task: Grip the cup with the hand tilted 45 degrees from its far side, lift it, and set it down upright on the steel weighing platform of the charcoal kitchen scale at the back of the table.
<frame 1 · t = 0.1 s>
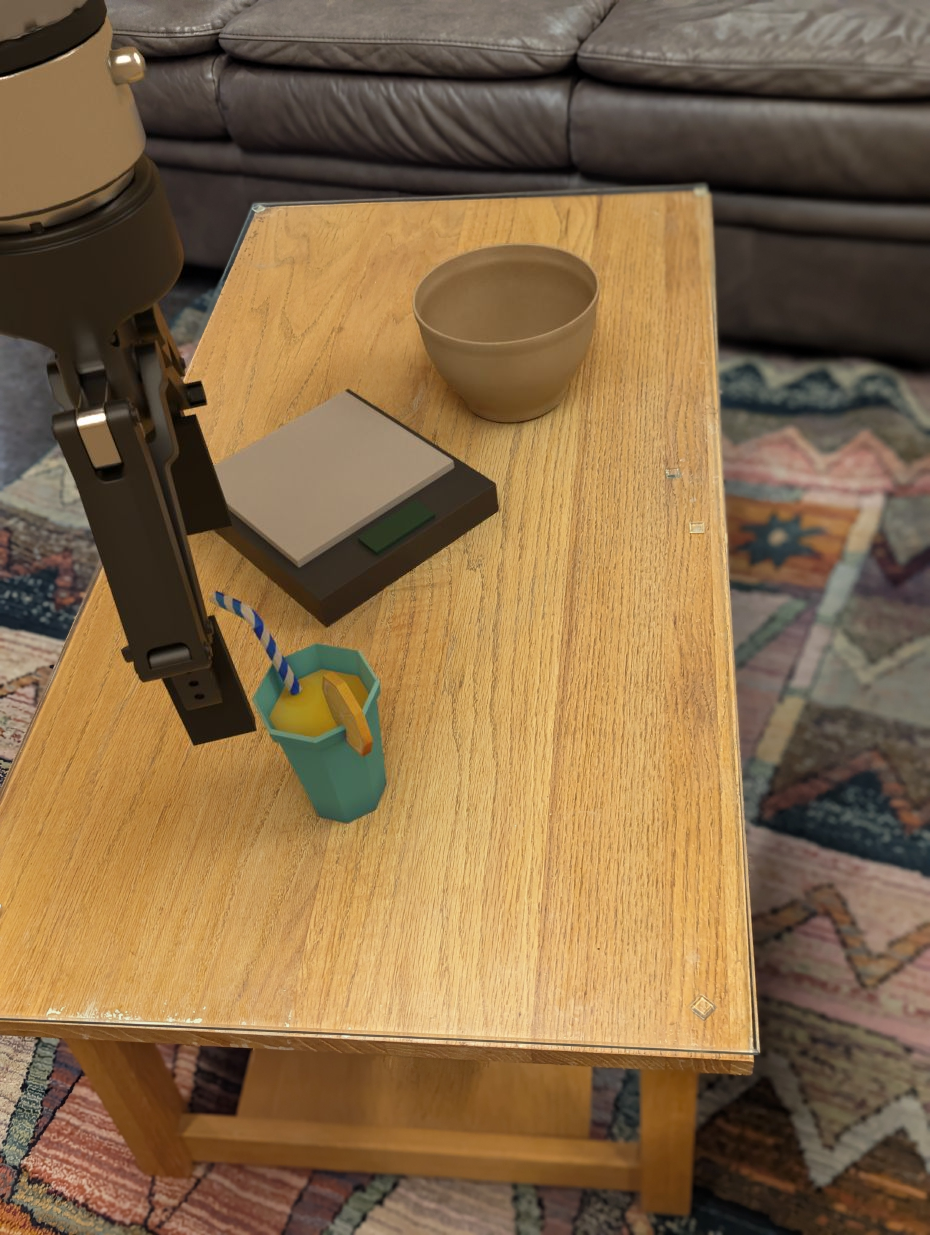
hand: (214, 620, 51), 24 cm above the table, tool pointing down, fingers open, 13 cm apart
scale: (341, 510, 92), on the table
cup: (338, 784, 73), on the table
planter bowl: (513, 395, 101), on the table
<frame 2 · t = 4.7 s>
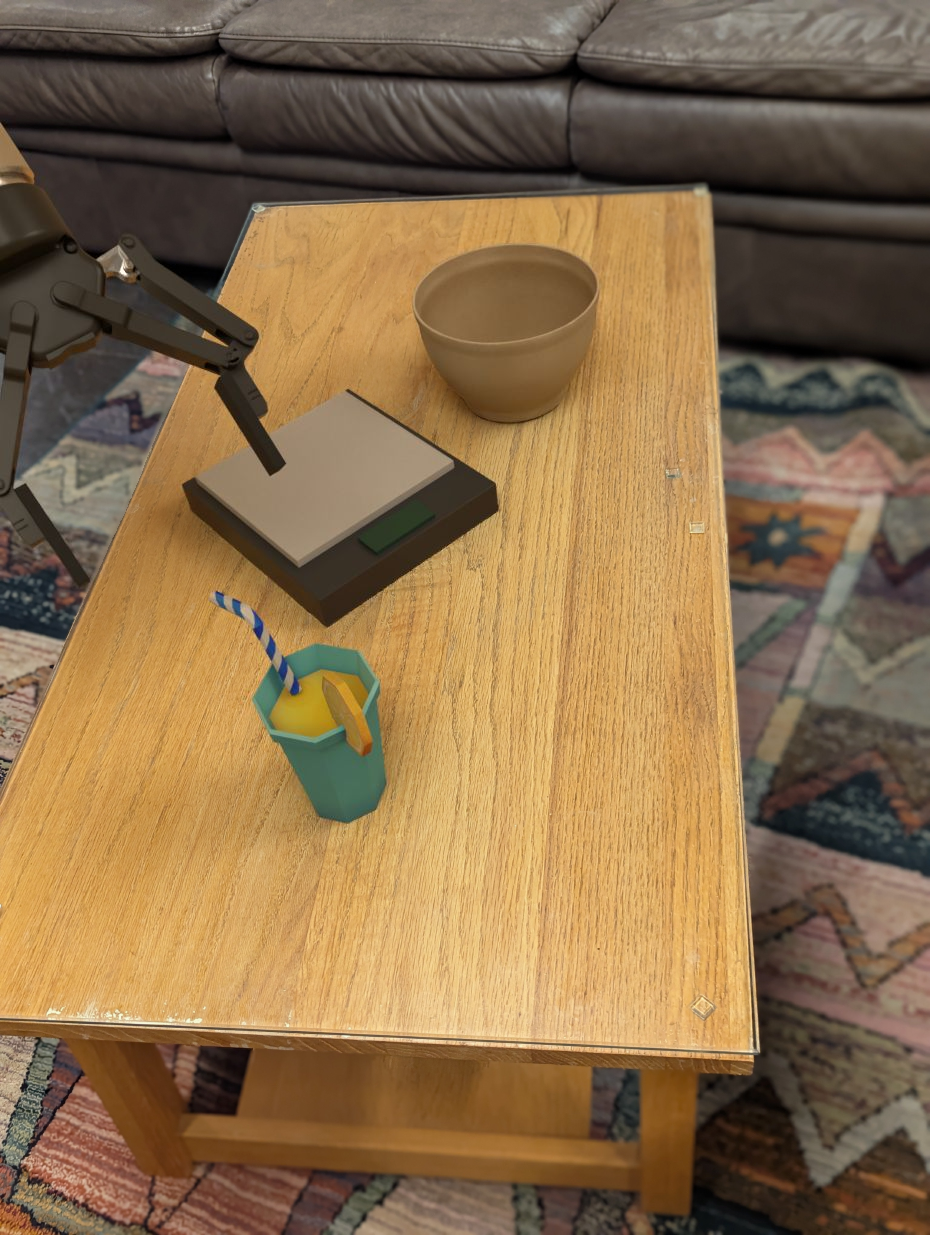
hand: (184, 526, 66), 17 cm above the table, tool tilted 45°, fingers open, 13 cm apart
nothing on the table moved.
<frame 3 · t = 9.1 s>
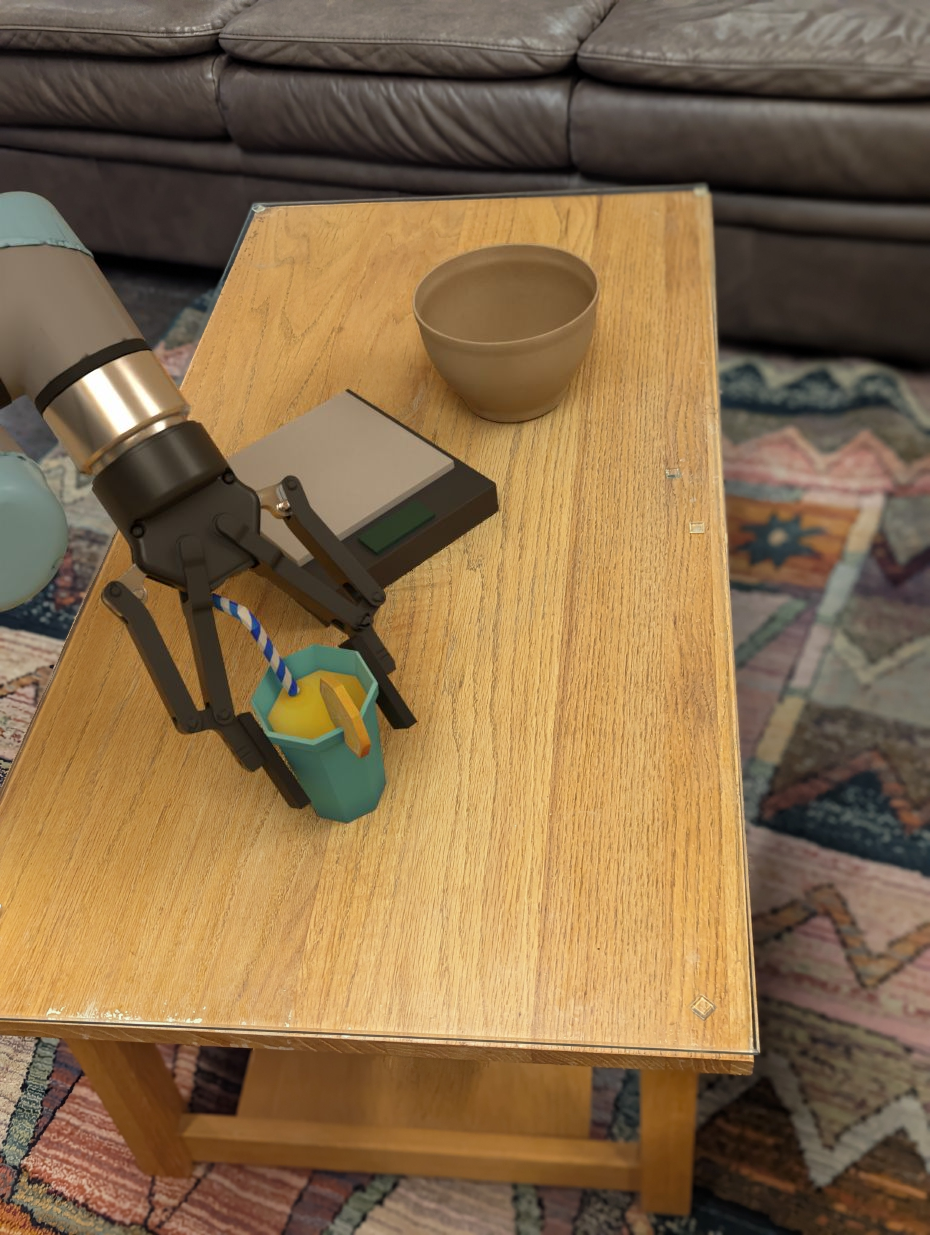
hand: (354, 763, 67), 6 cm above the table, tool tilted 45°, fingers closed on cup, 7 cm apart
cup: (337, 784, 73), on the table, touching gripper
everything else where it was.
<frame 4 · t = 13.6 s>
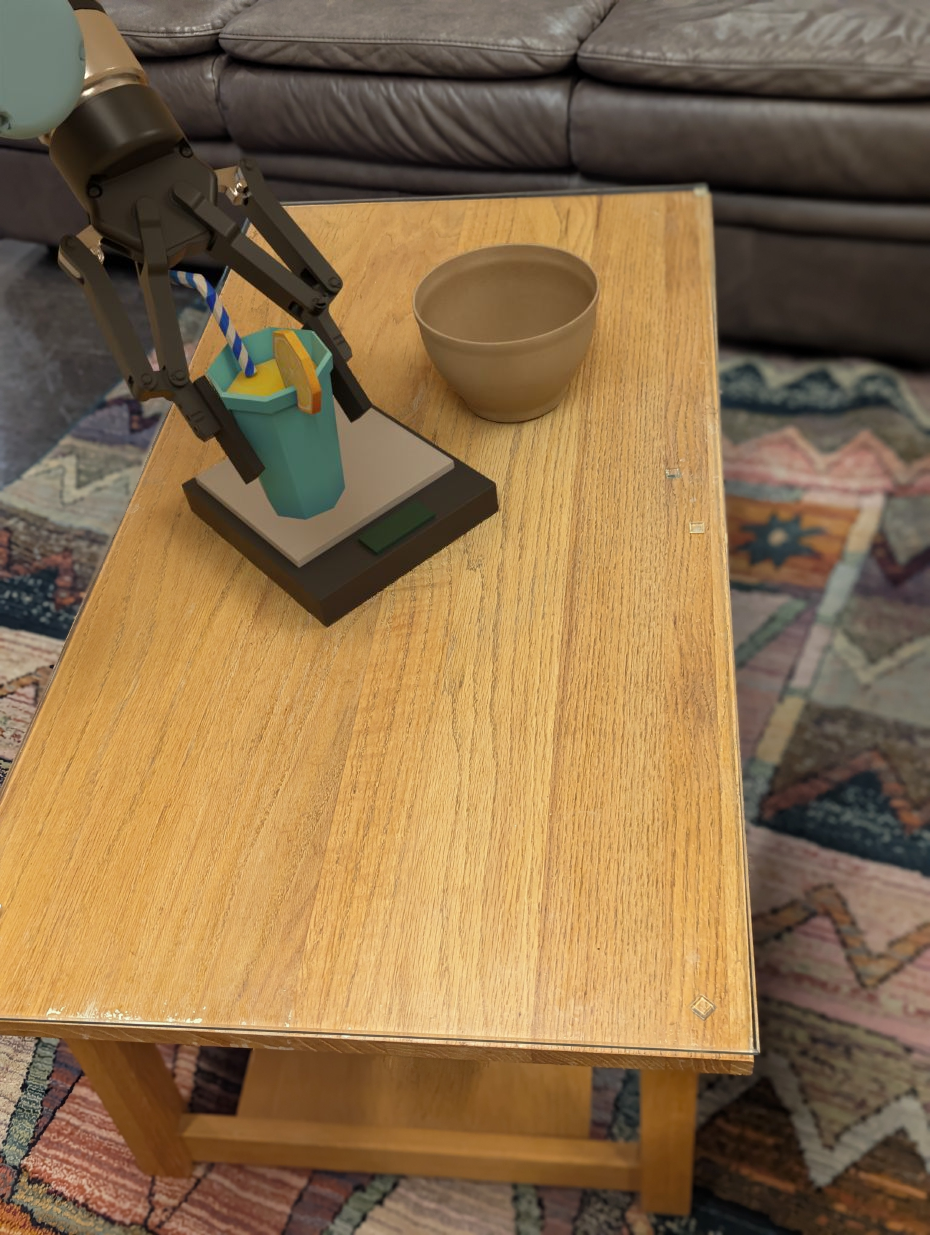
hand: (309, 444, 67), 19 cm above the table, tool tilted 45°, fingers closed on cup, 7 cm apart
cup: (297, 490, 73), point 13 cm above the table, touching gripper
everything else where it was.
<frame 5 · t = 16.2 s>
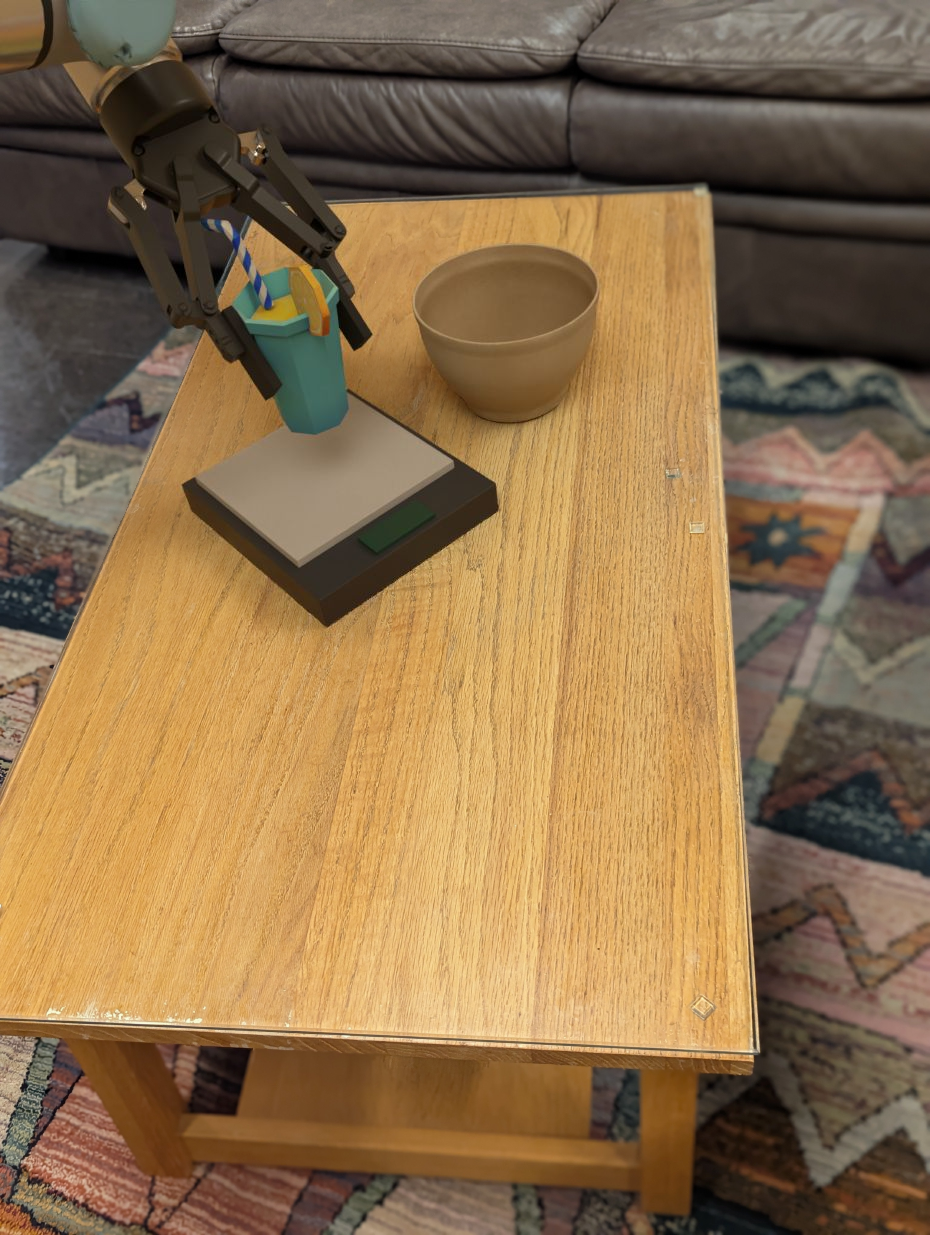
hand: (319, 367, 79), 15 cm above the table, tool tilted 45°, fingers closed on cup, 7 cm apart
cup: (308, 412, 85), point 10 cm above the table, touching gripper
everything else where it was.
when the fingers open (9 cm above the table, at t = 18.3 s): cup stays where it is, resting on scale.
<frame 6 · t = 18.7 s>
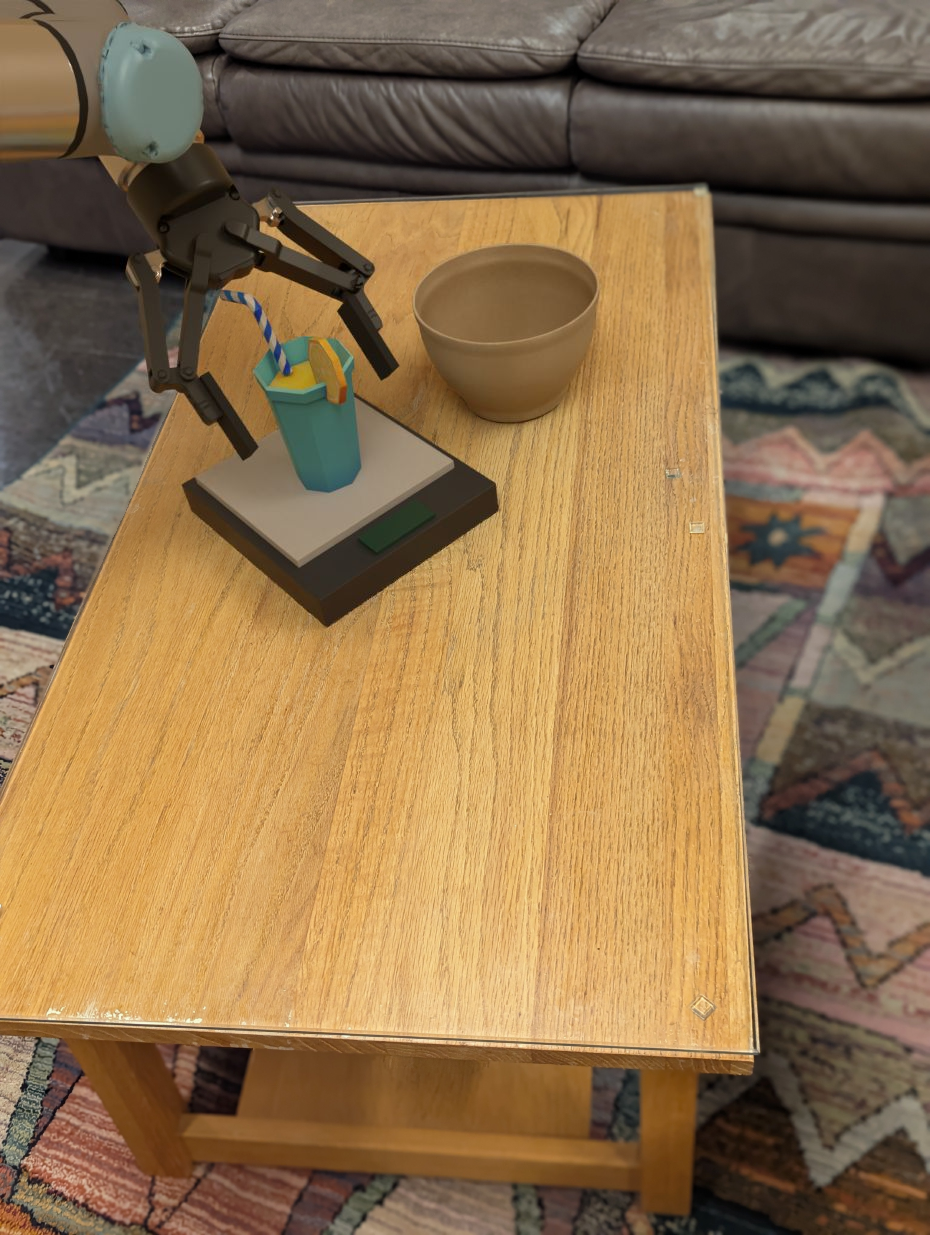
hand: (323, 413, 83), 11 cm above the table, tool tilted 45°, fingers open, 13 cm apart
cup: (322, 470, 90), point 4 cm above the table, touching scale
everything else where it was.
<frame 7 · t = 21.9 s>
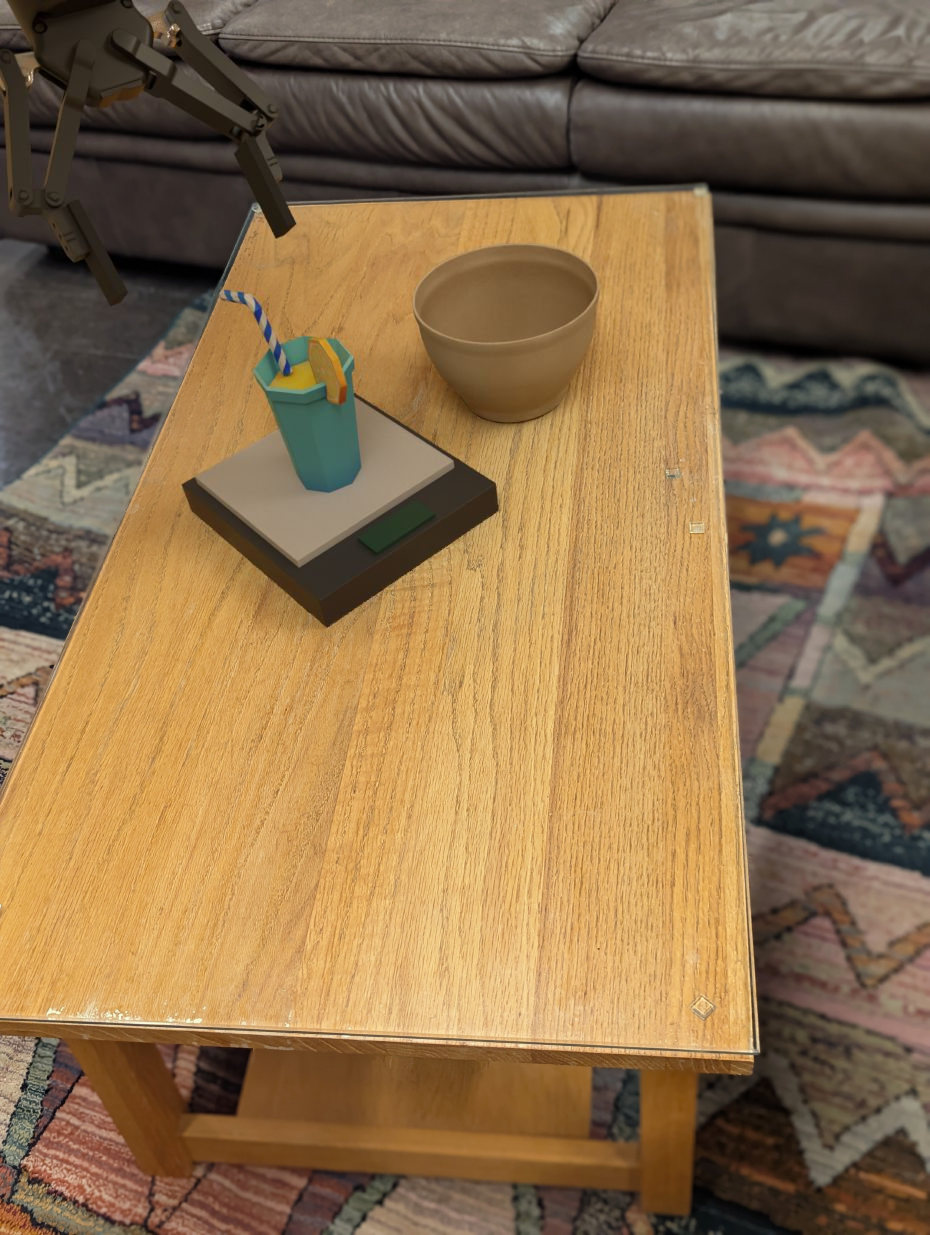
hand: (206, 265, 76), 23 cm above the table, tool tilted 35°, fingers open, 13 cm apart
nothing on the table moved.
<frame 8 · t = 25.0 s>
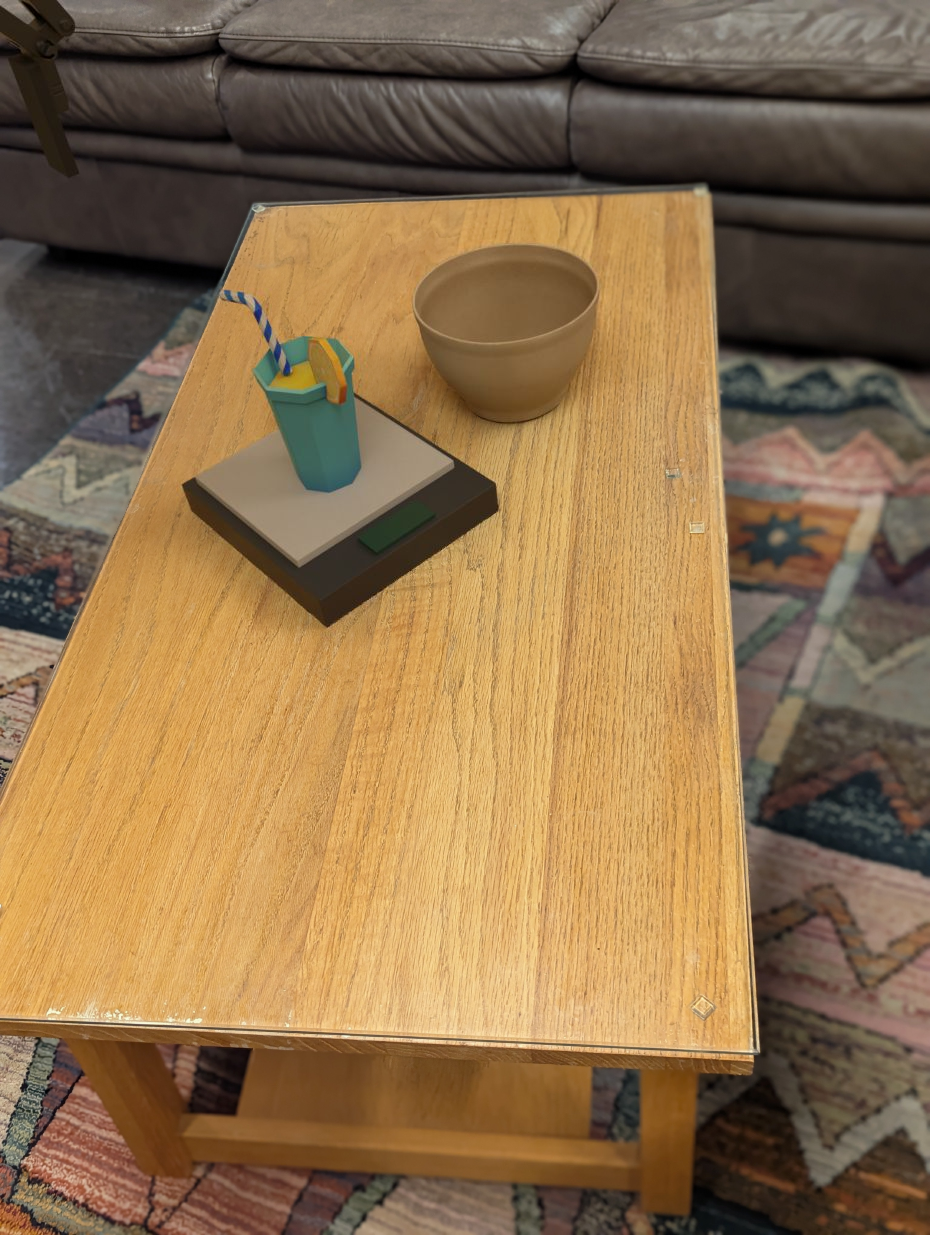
nothing on the table moved.
at the end: cup inside the target area on the scale (0.0 cm from its centre), point 3.6 cm above the scale's base; cup tilted 0°; the gripper is holding nothing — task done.
